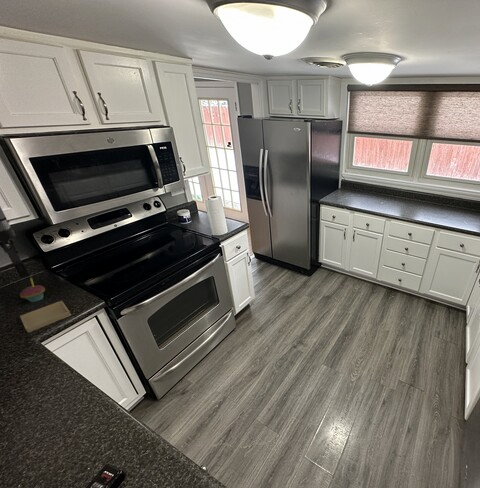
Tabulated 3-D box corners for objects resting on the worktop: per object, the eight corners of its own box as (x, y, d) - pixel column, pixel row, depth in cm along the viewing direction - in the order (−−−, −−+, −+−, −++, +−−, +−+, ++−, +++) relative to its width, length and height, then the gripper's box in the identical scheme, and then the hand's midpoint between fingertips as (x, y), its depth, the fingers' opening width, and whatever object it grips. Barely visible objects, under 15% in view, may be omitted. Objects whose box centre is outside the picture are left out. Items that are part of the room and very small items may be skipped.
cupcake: (40, 293, 135) (29, 273, 130) (53, 295, 133) (43, 275, 128) (19, 303, 127) (7, 282, 122) (33, 306, 126) (21, 285, 120)
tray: (21, 319, 117) (19, 315, 116) (63, 303, 128) (61, 300, 127) (27, 332, 110) (25, 329, 110) (71, 315, 121) (69, 311, 120)
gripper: (16, 234, 110) (39, 277, 120) (7, 221, 123) (28, 260, 133) (-11, 240, 105) (15, 284, 114) (-18, 225, 118) (6, 266, 127)
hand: (22, 271), depth 123 cm, fingers open, 13 cm apart
